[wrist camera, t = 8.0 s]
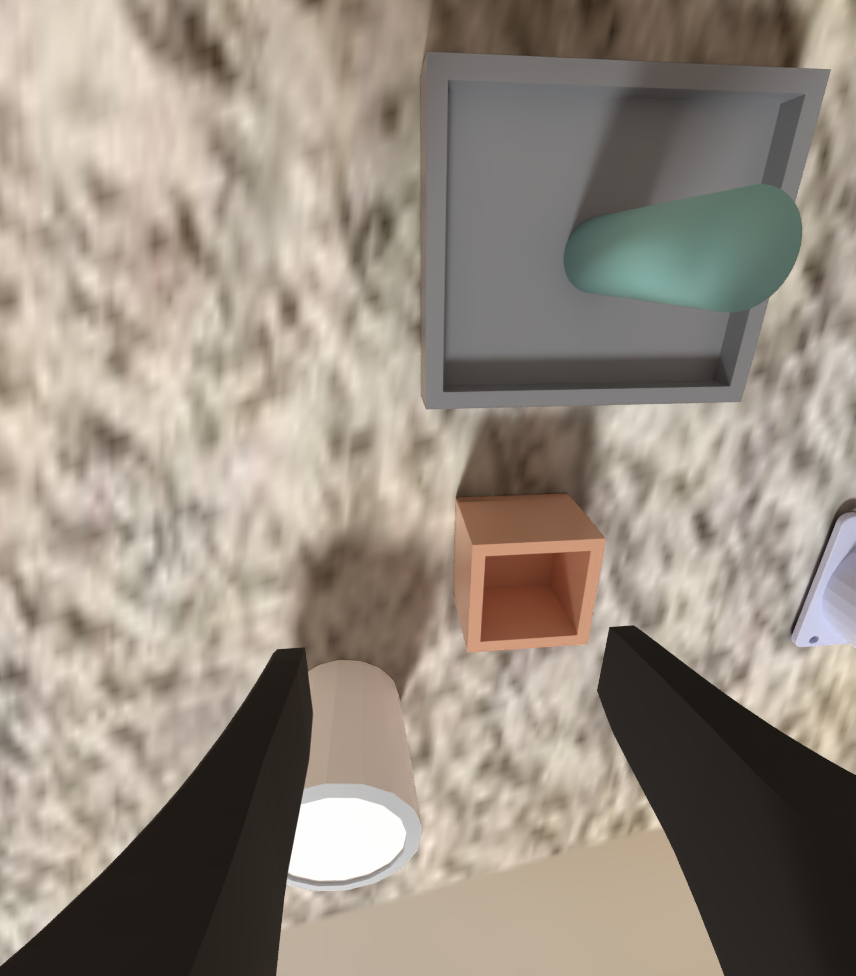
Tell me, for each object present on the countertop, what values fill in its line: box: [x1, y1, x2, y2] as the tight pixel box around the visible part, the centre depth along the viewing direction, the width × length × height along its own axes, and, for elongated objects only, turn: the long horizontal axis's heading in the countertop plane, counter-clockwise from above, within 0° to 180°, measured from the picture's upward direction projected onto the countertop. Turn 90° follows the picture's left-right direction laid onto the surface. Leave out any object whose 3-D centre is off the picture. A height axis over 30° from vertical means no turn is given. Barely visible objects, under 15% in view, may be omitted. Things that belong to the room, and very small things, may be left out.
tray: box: [420, 52, 831, 409], centre depth 17 cm, size 12×10×2 cm
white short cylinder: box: [286, 660, 423, 891], centre depth 23 cm, size 7×7×7 cm
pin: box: [563, 184, 802, 313], centre depth 14 cm, size 2×2×8 cm
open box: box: [453, 493, 606, 652], centre depth 21 cm, size 5×5×4 cm
